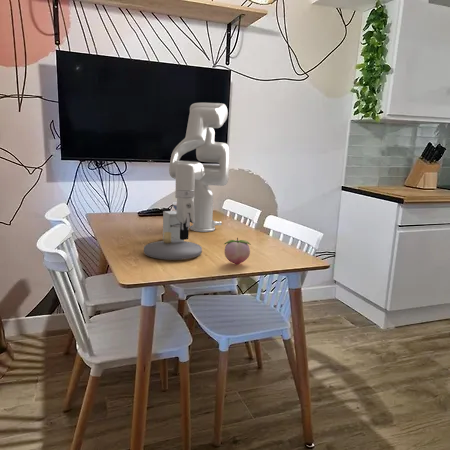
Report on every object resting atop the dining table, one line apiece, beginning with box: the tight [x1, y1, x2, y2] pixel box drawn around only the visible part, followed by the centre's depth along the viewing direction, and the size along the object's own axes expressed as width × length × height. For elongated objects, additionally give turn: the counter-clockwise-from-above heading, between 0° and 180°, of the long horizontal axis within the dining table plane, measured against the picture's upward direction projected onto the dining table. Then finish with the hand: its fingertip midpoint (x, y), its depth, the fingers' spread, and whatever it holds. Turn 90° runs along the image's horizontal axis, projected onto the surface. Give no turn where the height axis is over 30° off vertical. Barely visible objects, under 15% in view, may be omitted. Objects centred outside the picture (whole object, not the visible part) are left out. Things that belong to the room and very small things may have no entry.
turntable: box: [143, 232, 203, 261], centre depth 154 cm, size 22×22×6 cm
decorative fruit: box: [224, 237, 252, 265], centre depth 143 cm, size 9×8×10 cm
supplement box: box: [162, 210, 185, 241], centre depth 173 cm, size 7×7×13 cm
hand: (184, 239), depth 163 cm, fingers closed
